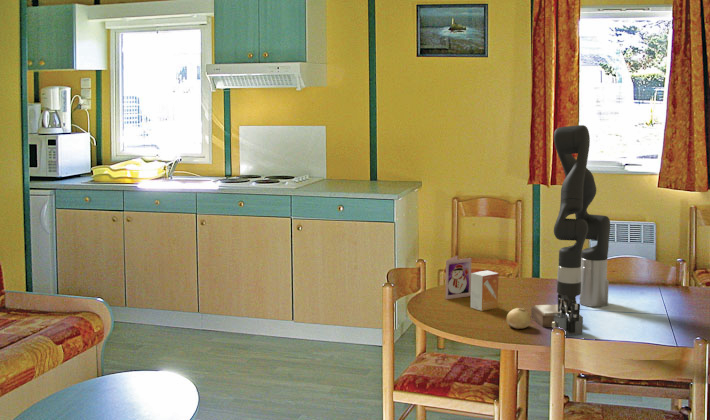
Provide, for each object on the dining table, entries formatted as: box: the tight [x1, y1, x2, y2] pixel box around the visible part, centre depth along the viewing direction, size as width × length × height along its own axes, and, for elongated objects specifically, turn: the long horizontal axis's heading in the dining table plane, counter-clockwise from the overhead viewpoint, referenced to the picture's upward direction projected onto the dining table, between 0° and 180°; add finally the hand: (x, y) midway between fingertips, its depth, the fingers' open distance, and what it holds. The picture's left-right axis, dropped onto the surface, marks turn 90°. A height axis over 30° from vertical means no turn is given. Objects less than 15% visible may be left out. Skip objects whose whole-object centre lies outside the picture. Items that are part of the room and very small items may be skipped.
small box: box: [470, 269, 500, 312], centre depth 291 cm, size 8×6×13 cm
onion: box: [505, 306, 532, 330], centre depth 268 cm, size 8×8×7 cm
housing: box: [551, 313, 584, 336], centre depth 261 cm, size 9×5×6 cm, turn 96°
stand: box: [530, 303, 571, 328], centre depth 274 cm, size 12×12×4 cm
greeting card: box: [445, 255, 472, 300], centre depth 308 cm, size 11×7×15 cm, turn 115°
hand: (567, 329), depth 262 cm, fingers open, 6 cm apart
